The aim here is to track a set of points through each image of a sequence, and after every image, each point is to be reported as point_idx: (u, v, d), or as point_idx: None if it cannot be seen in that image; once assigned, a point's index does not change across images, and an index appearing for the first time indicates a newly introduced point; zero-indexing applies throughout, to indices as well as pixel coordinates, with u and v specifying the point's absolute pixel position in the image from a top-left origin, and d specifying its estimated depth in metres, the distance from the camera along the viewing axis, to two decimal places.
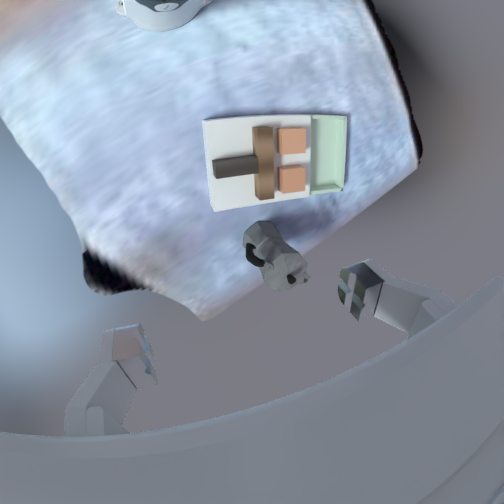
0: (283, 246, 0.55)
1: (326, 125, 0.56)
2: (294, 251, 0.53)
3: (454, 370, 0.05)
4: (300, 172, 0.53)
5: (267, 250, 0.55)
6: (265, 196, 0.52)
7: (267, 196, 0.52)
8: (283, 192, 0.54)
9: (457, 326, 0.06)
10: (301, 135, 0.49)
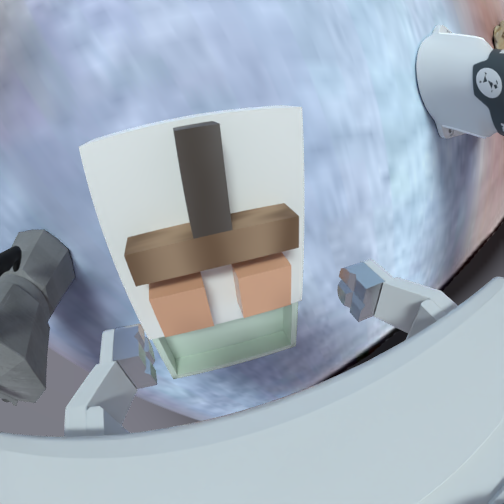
0: (40, 340, 0.16)
1: (271, 321, 0.38)
2: (42, 375, 0.14)
3: (454, 370, 0.05)
4: (202, 320, 0.25)
5: (17, 304, 0.15)
6: (136, 265, 0.20)
7: (137, 270, 0.20)
8: (152, 300, 0.22)
9: (457, 326, 0.06)
10: (278, 301, 0.27)
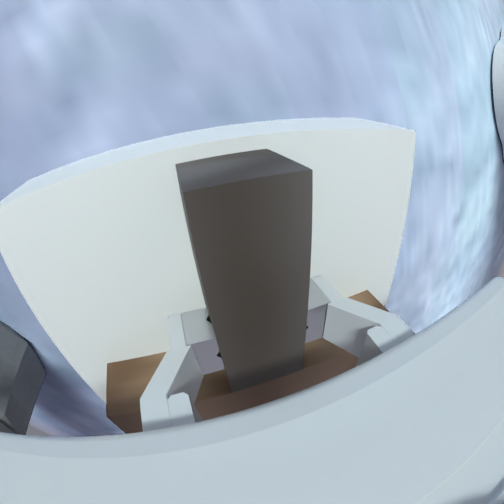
0: None
1: None
2: None
3: (454, 370, 0.05)
4: None
5: None
6: (131, 425, 0.09)
7: (134, 429, 0.09)
8: None
9: (457, 326, 0.06)
10: None
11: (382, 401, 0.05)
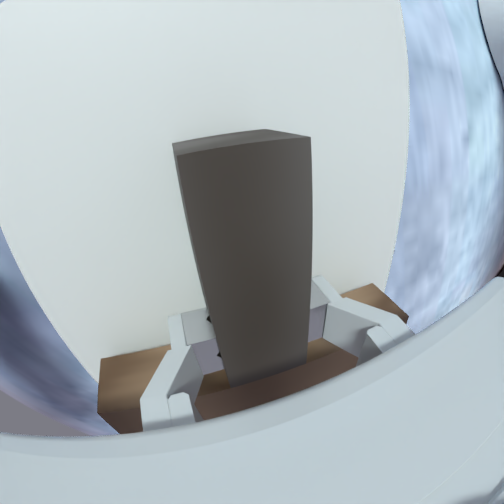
0: None
1: None
2: None
3: (454, 370, 0.05)
4: None
5: None
6: (124, 423, 0.09)
7: (127, 428, 0.09)
8: None
9: (457, 326, 0.06)
10: None
11: (382, 401, 0.05)
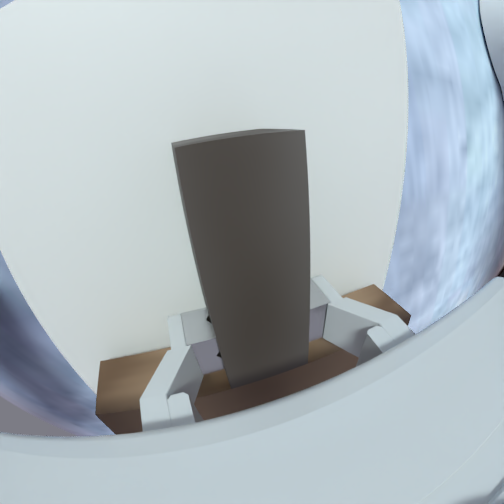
0: None
1: None
2: None
3: (454, 370, 0.05)
4: None
5: None
6: (122, 426, 0.08)
7: (126, 431, 0.09)
8: None
9: (457, 326, 0.06)
10: None
11: (382, 401, 0.05)
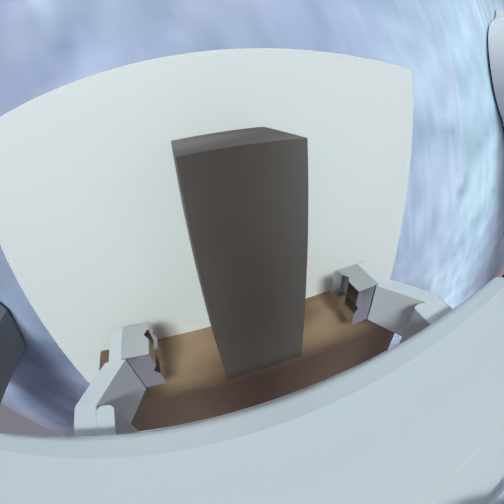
0: None
1: None
2: None
3: (454, 370, 0.05)
4: None
5: None
6: None
7: None
8: None
9: (457, 326, 0.06)
10: None
11: (382, 401, 0.05)
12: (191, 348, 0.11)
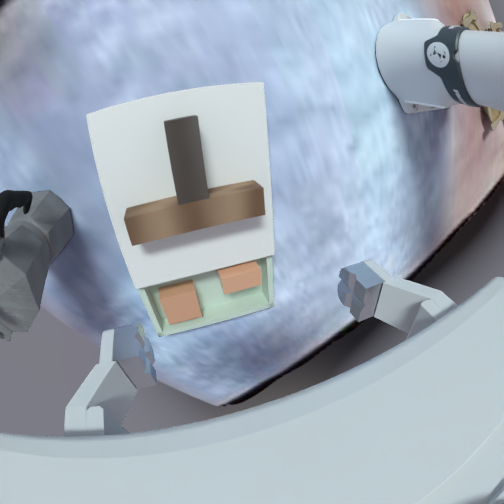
0: (40, 270, 0.19)
1: None
2: (38, 298, 0.18)
3: (454, 370, 0.05)
4: None
5: (24, 238, 0.18)
6: (133, 227, 0.25)
7: (133, 231, 0.25)
8: None
9: (457, 326, 0.06)
10: None
11: (382, 401, 0.05)
12: (166, 200, 0.26)
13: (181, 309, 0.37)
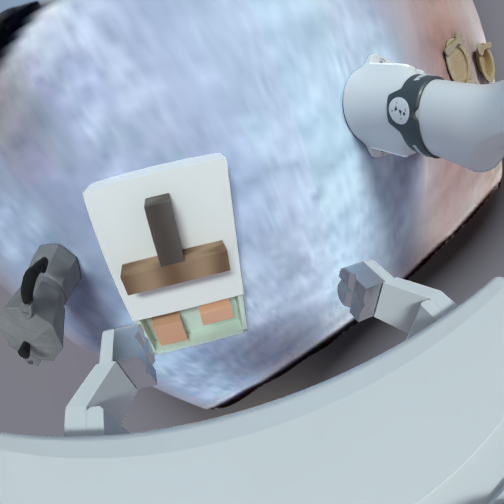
0: (60, 317, 0.27)
1: None
2: (61, 339, 0.25)
3: (454, 370, 0.05)
4: None
5: (45, 294, 0.26)
6: (128, 283, 0.32)
7: (128, 285, 0.32)
8: None
9: (457, 326, 0.06)
10: None
11: (382, 401, 0.05)
12: (152, 260, 0.34)
13: (170, 334, 0.44)
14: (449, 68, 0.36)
